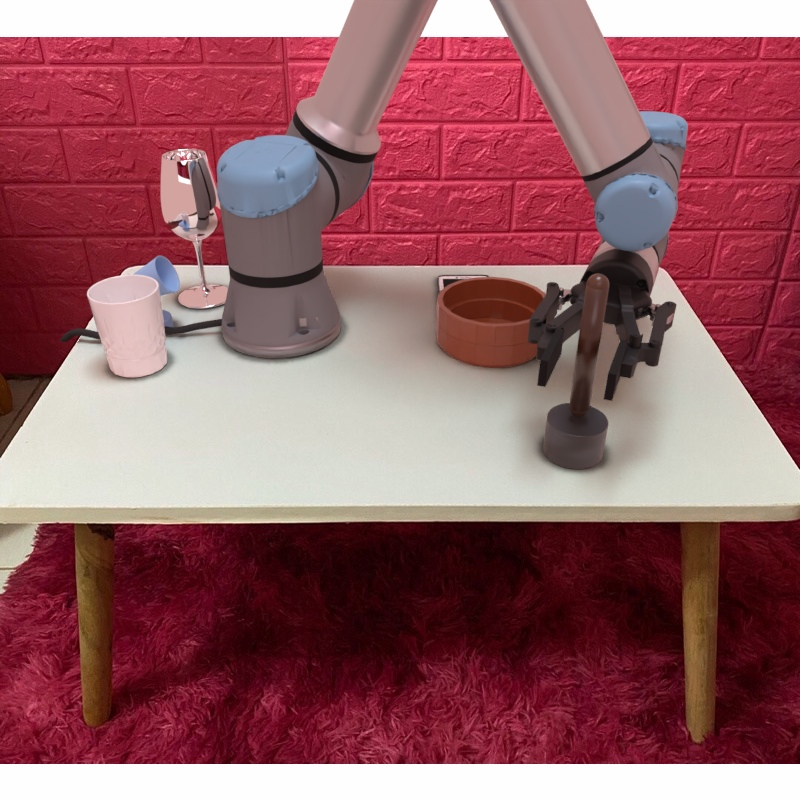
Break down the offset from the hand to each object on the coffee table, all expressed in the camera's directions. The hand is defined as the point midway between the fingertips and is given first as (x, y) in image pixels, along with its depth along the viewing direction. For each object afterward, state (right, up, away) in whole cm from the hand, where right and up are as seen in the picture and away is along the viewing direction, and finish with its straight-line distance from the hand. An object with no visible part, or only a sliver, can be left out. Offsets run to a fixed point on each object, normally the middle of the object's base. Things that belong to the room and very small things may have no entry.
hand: (576, 380), depth 68 cm
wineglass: (-43, +13, +41) cm, 61 cm away
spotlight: (-47, +7, +33) cm, 58 cm away
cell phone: (-6, +12, +40) cm, 42 cm away
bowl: (-4, +6, +30) cm, 30 cm away
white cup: (-47, +2, +25) cm, 54 cm away
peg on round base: (+2, -7, +10) cm, 13 cm away
